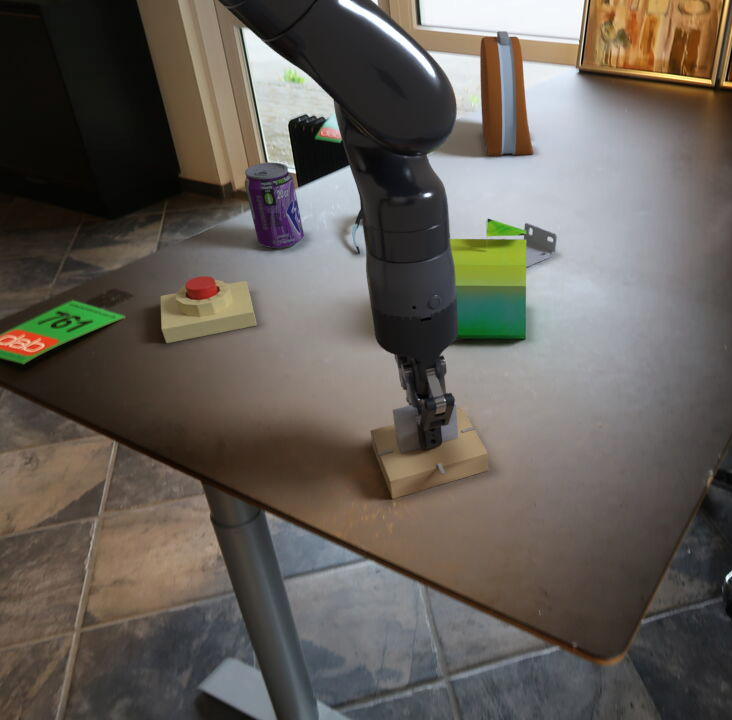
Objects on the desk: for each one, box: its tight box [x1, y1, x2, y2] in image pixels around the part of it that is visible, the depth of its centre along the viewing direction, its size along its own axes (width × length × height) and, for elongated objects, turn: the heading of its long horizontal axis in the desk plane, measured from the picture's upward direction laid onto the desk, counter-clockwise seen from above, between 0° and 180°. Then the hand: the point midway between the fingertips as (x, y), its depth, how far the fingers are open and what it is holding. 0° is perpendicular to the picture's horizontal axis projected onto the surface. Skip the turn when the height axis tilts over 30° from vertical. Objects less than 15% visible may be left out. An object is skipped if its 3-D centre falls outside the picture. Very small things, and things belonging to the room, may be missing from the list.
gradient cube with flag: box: [450, 218, 527, 340], centre depth 90 cm, size 11×10×15 cm
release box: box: [160, 279, 258, 344], centre depth 93 cm, size 11×9×4 cm
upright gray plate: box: [392, 401, 458, 454], centre depth 70 cm, size 6×2×5 cm, turn 114°
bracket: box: [523, 222, 558, 268], centre depth 109 cm, size 7×10×4 cm, turn 140°
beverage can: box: [244, 162, 305, 249], centre depth 110 cm, size 7×7×12 cm
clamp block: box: [370, 406, 489, 500], centre depth 72 cm, size 10×10×3 cm
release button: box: [184, 275, 218, 300], centre depth 92 cm, size 4×4×2 cm
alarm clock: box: [479, 30, 535, 157], centre depth 148 cm, size 22×10×23 cm, turn 8°
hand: (427, 438), depth 71 cm, fingers closed, pressing on upright gray plate
